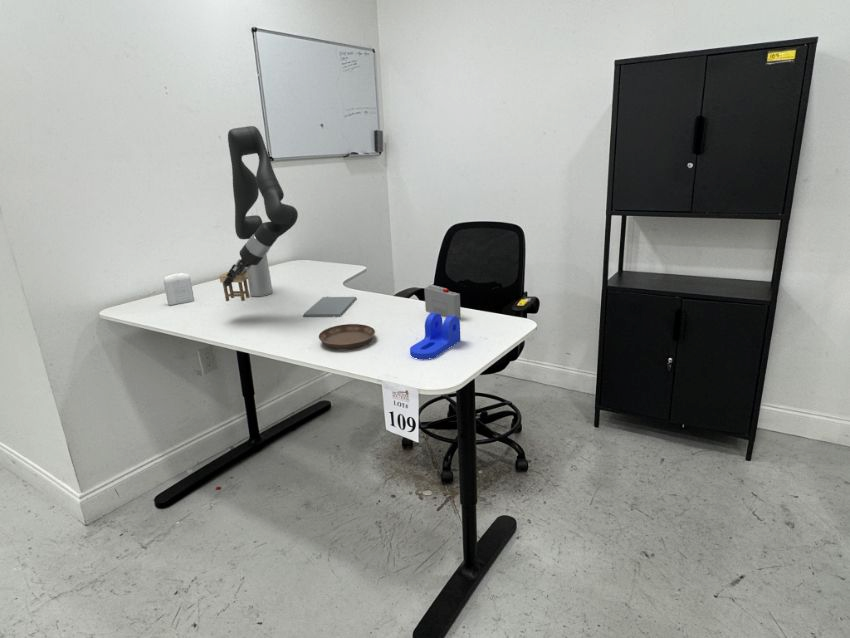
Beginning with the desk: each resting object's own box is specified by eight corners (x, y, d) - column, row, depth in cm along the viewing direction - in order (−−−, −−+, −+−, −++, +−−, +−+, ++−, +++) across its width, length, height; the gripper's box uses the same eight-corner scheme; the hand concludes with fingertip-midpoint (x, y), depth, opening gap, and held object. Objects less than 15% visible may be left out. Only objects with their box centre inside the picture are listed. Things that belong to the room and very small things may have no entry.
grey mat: (323, 299, 212) (323, 297, 212) (356, 299, 210) (356, 296, 210) (303, 316, 192) (303, 314, 191) (340, 316, 190) (339, 314, 189)
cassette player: (460, 318, 181) (459, 291, 177) (454, 320, 179) (453, 292, 176) (431, 309, 192) (429, 283, 189) (425, 311, 191) (424, 285, 187)
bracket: (437, 337, 165) (436, 310, 162) (460, 341, 161) (459, 313, 158) (404, 357, 151) (402, 328, 148) (428, 362, 147) (427, 332, 144)
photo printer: (193, 299, 224) (187, 270, 220) (195, 301, 220) (189, 272, 216) (167, 304, 218) (161, 275, 214) (169, 306, 215) (162, 277, 211)
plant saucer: (386, 341, 165) (386, 332, 164) (339, 357, 154) (338, 347, 153) (355, 328, 178) (354, 320, 177) (309, 343, 167) (308, 334, 166)
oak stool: (231, 297, 193) (226, 272, 190) (251, 296, 192) (247, 272, 189) (224, 301, 189) (219, 276, 185) (244, 301, 187) (240, 275, 184)
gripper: (256, 237, 189) (231, 270, 195) (237, 245, 175) (211, 280, 181) (272, 251, 190) (247, 283, 196) (255, 261, 176) (228, 295, 182)
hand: (230, 282), depth 188 cm, fingers closed on oak stool, 5 cm apart
